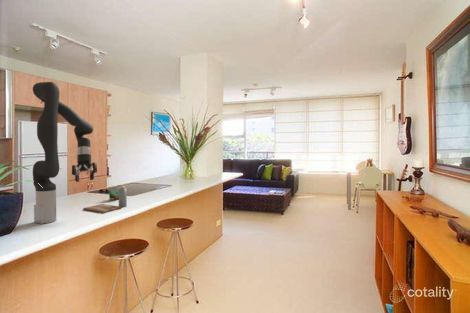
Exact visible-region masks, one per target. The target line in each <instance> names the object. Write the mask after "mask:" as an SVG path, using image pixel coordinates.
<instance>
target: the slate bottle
mask: <svg viewBox="0 0 470 313" xmlns="http://www.w3.org/2000/svg"><path fill="white" fill-rule="evenodd" d="M127 197H128V196H127V188H126V186H122V185H121V187H120V189H119V200H118V206H119V207H121V208H126V207H127V206H128V205H127V203H128V202H127V199H128V198H127Z"/></svg>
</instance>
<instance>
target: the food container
mask: <svg viewBox="0 0 470 313" xmlns="http://www.w3.org/2000/svg"><path fill="white" fill-rule="evenodd" d="M121 186H122V185H121V184H118V185H117V186H113V187H112V186H111V187H109V186H108V195H109V197H108V198H109V201H111V202H112V201H119V189H120V187H121Z"/></svg>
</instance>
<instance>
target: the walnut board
mask: <svg viewBox="0 0 470 313" xmlns="http://www.w3.org/2000/svg"><path fill="white" fill-rule="evenodd" d="M121 209H122V207H119V205H112V204H111V205H110V204H105V203H100V204H95V205H92V206H87V207H83V209H82V210H83V211H85V212H86V211H88V212H91V213H92V212H94V213H99V214H106V213H110V212H113V211H118V210H121Z"/></svg>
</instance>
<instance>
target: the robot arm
mask: <svg viewBox="0 0 470 313" xmlns="http://www.w3.org/2000/svg"><path fill="white" fill-rule="evenodd" d="M32 86H33V87H32V93H33V94H34V96H35V97H36V98H37V99H38V100H40V101H41V102H43V103H44V104H43V105H44V107H43V110H42V113H41V114H40V116H39V118H38V120H37V123H36V135H37V140H38V141H39V143H40V145H41V147H42V149H43V151H44V160H38V161H36V162H35V163H34V164H33V166H32V181H34V182H33V186H34V189H35V204H33V220H34V221H33V222H34V224H35V223H36V224H40V225H42V224H49V223H53V222H56V221H57V186H56V183H54V182H52V181H51V179H53V178H56V177H57V176H58V175H59V173H60V159H59V152H58V150H59V146H58V131H59V130H58V119H59V118H58V115H60V116H61V118H63V119H64V120H65V121H66V122H67V123H68V125H71V126H72V127H74V128H73V133H74V134H75V138H76V142H77V148H76V150H77V151H76V159H77V161H76V162H77V164H75V165H74V164H72V166H71V175H72V176H74V179H75V180H74V181H75V182H77V183H79V182H80V174H82V173H83V172H89V180H90V181H93V180H94V179H95V174H97V173H98V165H97V162H92V150H91V149H92V148H91V139H90V138H89V137H85V136H86V135H91V134H92V133H93V132H94V127H93V125H92V124H91V123H90V122H89V121H87V120H85V119H84V118H82V117H81V116H80V115H79V114H78V113H77V112H76V111H75V110H74V109H72V107H69V106H68V105H67V104H65V103H63V102H61V101H60V94H61V93H60V88H59V85H58V84H57V83H56V82H53V81H41V82H36V83H35V84H33V85H32ZM38 183H39V184H40V185H41V186H42V187H43V188H42V187H41V186H40V185H39V184H38Z"/></svg>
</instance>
